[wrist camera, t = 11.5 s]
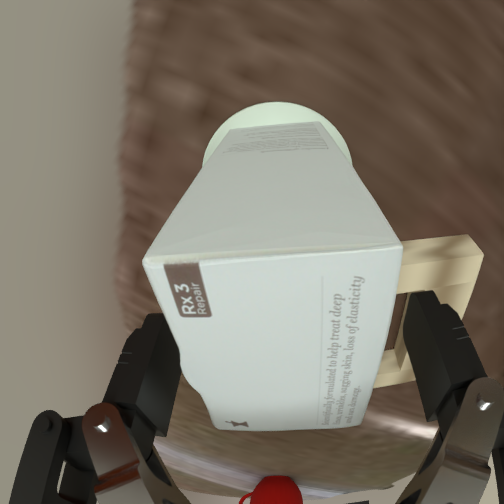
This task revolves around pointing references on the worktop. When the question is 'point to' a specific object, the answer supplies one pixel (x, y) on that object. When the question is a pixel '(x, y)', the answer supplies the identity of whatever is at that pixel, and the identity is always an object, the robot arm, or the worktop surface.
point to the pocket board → (431, 278)
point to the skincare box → (278, 281)
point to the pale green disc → (273, 122)
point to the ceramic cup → (275, 492)
